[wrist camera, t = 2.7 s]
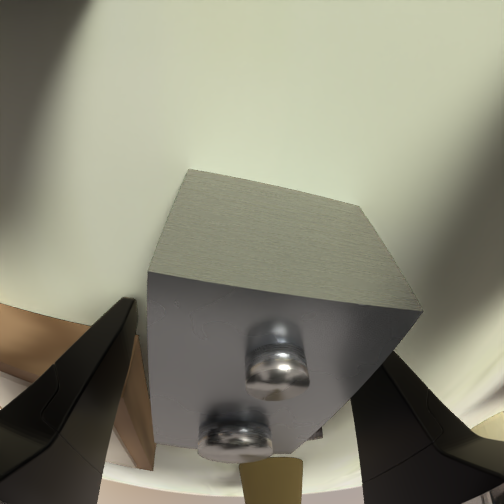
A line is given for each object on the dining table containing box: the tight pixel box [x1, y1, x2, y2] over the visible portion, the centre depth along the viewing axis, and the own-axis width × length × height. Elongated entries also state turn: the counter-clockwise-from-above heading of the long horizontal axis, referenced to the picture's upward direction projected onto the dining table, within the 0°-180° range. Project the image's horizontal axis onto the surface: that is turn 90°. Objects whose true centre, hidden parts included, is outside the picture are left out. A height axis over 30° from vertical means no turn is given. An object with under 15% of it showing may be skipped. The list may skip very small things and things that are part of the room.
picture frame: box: [0, 303, 156, 471], centre depth 13 cm, size 10×12×3 cm
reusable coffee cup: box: [470, 411, 504, 441], centre depth 22 cm, size 13×13×15 cm
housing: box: [147, 169, 423, 463], centre depth 9 cm, size 5×8×5 cm, turn 166°
